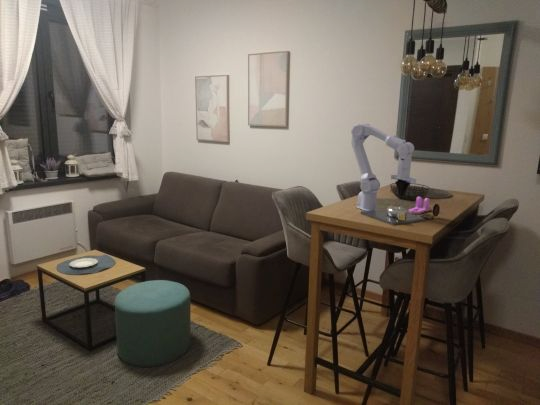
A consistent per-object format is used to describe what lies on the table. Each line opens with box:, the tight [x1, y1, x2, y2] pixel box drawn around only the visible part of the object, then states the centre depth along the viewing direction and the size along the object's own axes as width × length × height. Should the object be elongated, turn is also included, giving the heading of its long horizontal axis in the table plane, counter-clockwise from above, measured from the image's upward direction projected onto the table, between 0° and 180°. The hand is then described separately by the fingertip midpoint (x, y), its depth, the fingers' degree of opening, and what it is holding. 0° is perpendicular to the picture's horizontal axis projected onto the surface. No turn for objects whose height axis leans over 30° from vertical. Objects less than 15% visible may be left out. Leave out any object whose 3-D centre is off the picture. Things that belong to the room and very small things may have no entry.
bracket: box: [408, 196, 431, 215], centre depth 210 cm, size 13×6×7 cm, turn 135°
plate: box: [360, 208, 426, 226], centre depth 197 cm, size 22×20×1 cm
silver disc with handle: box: [386, 205, 408, 220], centre depth 193 cm, size 15×9×4 cm, turn 176°
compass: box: [419, 203, 441, 220], centre depth 196 cm, size 8×8×7 cm
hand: (401, 195), depth 199 cm, fingers closed
